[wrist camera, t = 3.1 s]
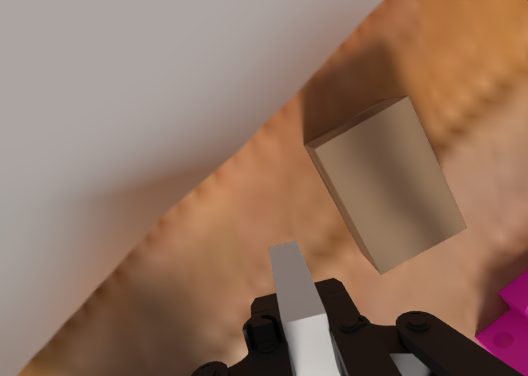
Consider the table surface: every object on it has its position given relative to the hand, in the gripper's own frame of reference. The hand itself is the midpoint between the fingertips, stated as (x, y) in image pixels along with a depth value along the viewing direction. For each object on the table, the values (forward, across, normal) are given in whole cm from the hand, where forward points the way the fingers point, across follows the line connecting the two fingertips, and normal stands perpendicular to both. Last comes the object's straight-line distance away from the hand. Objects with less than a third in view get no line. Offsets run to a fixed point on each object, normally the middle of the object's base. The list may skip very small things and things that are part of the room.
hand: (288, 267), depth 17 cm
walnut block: (+14, +10, 0) cm, 17 cm away
